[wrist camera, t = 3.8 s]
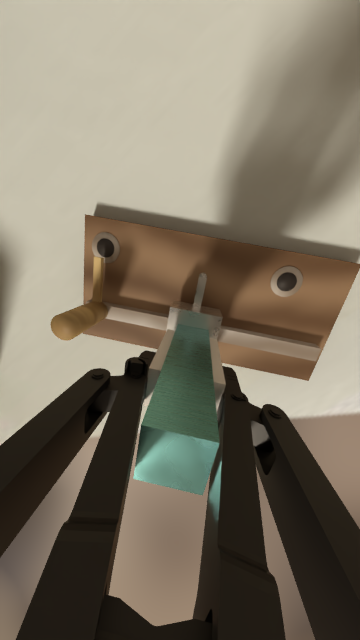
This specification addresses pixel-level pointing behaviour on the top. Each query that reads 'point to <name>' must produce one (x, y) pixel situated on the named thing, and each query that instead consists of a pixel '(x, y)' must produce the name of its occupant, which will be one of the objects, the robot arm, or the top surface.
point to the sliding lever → (183, 403)
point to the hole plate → (209, 294)
